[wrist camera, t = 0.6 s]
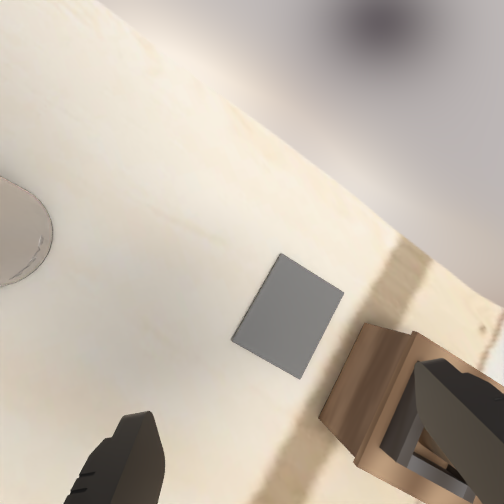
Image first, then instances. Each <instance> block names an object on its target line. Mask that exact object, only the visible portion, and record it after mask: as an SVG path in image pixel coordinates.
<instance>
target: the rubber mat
mask: <svg viewBox="0 0 504 504" xmlns="http://www.w3.org/2000/svg"><path fill="white" fill-rule="evenodd" d="M343 294H344V292H342V291H341V290H339V289H338V288H336V287H334V286H333V285H331V284H330V283H328V282H326V281H325V280H323V279H322V278H320V277H318V276H317V275H315V274H314V273H312V272H310V271H309V270H307V269H306V268H304V267H303V266H301V265H299V264H298V263H296V262H295V261H293V260H291V259H290V258H288V257H287V256H285V255H283V254H280V255H279V257H278V259H277V261H276V262H275V264H274V266H273V268H272V269H271V271H270V273H269V275H268V277H267V278H266V280H265V282H264V284H263V285H262V287H261V289H260V291H259V292H258V294H257V296H256V298H255V300H254V301H253V303H252V305H251V307H250V308H249V310H248V312H247V314H246V315H245V317H244V319H243V321H242V323H241V324H240V326H239V328H238V330H237V331H236V333H235V335H234V337H233V338H232V342H234V343H236V344H238V345H239V346H241V347H243V348H245V349H247V350H248V351H250V352H252V353H254V354H255V355H257V356H259V357H261V358H263V359H264V360H266V361H268V362H270V363H271V364H273V365H275V366H277V367H279V368H280V369H282V370H284V371H286V372H287V373H289V374H291V375H293V376H294V377H296V378H298V379H301V377H302V375H303V373H304V371H305V369H306V367H307V365H308V363H309V361H310V359H311V357H312V355H313V353H314V351H315V349H316V347H317V346H318V344H319V342H320V340H321V338H322V336H323V334H324V332H325V330H326V328H327V326H328V324H329V322H330V320H331V318H332V316H333V314H334V312H335V310H336V308H337V306H338V304H339V302H340V300H341V298H342V296H343Z"/></svg>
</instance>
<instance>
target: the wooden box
mask: <svg viewBox="0 0 504 504" xmlns="http://www.w3.org/2000/svg"><path fill="white" fill-rule="evenodd" d="M438 358H444V359H446V360H447V361H448V362H449V363H451V364H452V365H453V366H454V367H455V368H456V369H458V370H459V371H460V372H461V373H467V372H468V373H470V374H473V375H475V376H477V377H479V378H481V379H483V380H485V381H487V382H489V383H491V384H492V385H493V386H494V387H496V388H497V389H498V390H500V391H501V392H502V393H503V394H504V386H502V385H500V384H499V383H497V382H496V381H494V380H493V379H491V378H489V377H488V376H486V375H485V374H483V373H481V372H480V371H478V370H477V369H475V368H474V367H472V366H470V365H469V364H467V363H466V362H464V361H462V360H461V359H459V358H458V357H456V356H455V355H453V354H451V353H450V352H448V351H447V350H445V349H444V348H442V347H440V346H439V345H437V344H436V343H434V342H432V341H431V340H429V339H428V338H426V337H425V336H423V335H421V334H420V333H418V332H415V331H412V334H411V335H409V334H405V333H401V332H397V331H394V330H390V329H386V328H382V327H378V326H375V325H371V324H367V323H364V326H363V328H362V330H361V332H360V334H359V336H358V338H357V340H356V342H355V344H354V346H353V348H352V350H351V352H350V354H349V356H348V358H347V360H346V363H345V365H344V367H343V369H342V371H341V373H340V375H339V377H338V379H337V381H336V383H335V385H334V387H333V389H332V391H331V393H330V395H329V397H328V399H327V402H326V404H325V406H324V408H323V410H322V412H321V414H320V416H319V419H320V420H321V421H322V422H323V424H324V425H325V426H326V427H327V428H328V429H329V430H330V431H331V432H332V433H333V434H334V435H335V436H336V437H337V439H338V440H339V441H340V442H341V443H342V444H343V445H344V446H345V447H346V448H347V449H348V450H349V451H350V452H351V454H352V455H353V456H354V457H355V459H354V461H353V463H354V464H355V465H356V466H357V467H358V468H360V469H362V470H364V471H366V472H368V473H370V474H372V475H373V476H375V477H377V478H379V479H381V480H383V481H385V482H387V483H389V484H390V485H392V486H394V487H396V488H398V489H400V490H402V491H404V492H405V493H407V494H409V495H411V496H413V497H415V498H417V499H419V500H421V501H422V502H424V503H426V504H482V502H481V501H480V500H479V498H478V497H477V496H476V494H475V493H474V492H473V490H472V489H471V488H470V487H469V485H468V484H467V483H466V481H465V480H464V479H463V477H462V476H461V475H460V474H459V472H458V471H457V470H456V469H455V468H454V467H452V466H451V465H449V464H448V463H447V462H445V461H444V460H442V459H441V458H440V457H438V456H437V455H435V454H434V453H433V452H431V451H430V450H428V449H427V448H426V447H424V446H423V445H422V444H420V443H419V441H418V440H419V438H420V435H421V433H422V431H423V428H424V426H423V424H422V422H421V420H420V417H419V415H418V411H417V407H416V392H415V375H414V366H415V364H416V363H417V362H422V361H427V360H433V359H438Z"/></svg>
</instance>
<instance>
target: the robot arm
mask: <svg viewBox="0 0 504 504" xmlns="http://www.w3.org/2000/svg"><path fill="white" fill-rule="evenodd" d="M52 231H53V230H52V224H51V219H50V217H49V215H48V213H47V210H46V209H45V207H44V206H43V205H42V203H41V202H40V201H39V200H38V199H37V198H36V197H35V196H34V195H32V194H31V193H30V192H28V191H26V190H25V189H23V188H21V187H19V186H17V185H16V184H14V183H12V182H10V181H8V180H6V179H5V178H3V177H1V176H0V286H4V285H8V284H12V283H15V282H17V281H19V280H21V279H23V278H25V277H27V276H28V275H29V274H31V273H32V272H33V271H35V270H36V269H37V268H38V267H39V265H40V264H41V263H42V262H43V261H44V259H45V257H46V255H47V254H48V252H49V249H50V246H51V242H52ZM414 375H415V392H416V407H417V411H418V415H419V417H420V420H421V422H422V424H423V426H424V427H425V429H426V430H427V432H428V433H429V434H430V436H431V437H432V438H433V440H434V441H435V442H436V444H437V445H438V446H439V447H440V449H441V450H442V451H443V453H444V454H445V455H446V457H447V458H448V459H449V460H450V462H451V463H452V464H453V466H454V467H455V468H456V470H457V471H458V472H459V474H460V475H461V476H462V477H463V479H464V480H465V481H466V483H467V484H468V485H469V487H470V488H471V489H472V490H473V492H474V493H475V494H476V496H477V497H478V498H479V500H480V501H481V502H482V504H504V394H503V393H502V392H501V391H500V390H498V389H497V388H496V387H494V386H493V385H492V384H491V383H489V382H487V381H485V380H483V379H481V378H479V377H477V376H475V375H473V374H470V373H468V372H467V373H461V372H460V371H459V370H458V369H456V368H455V367H454V366H453V365H452V364H451V363H449V362H448V361H447V360H446V359H444V358H438V359H433V360H427V361H422V362H417V363H416V364H415V366H414ZM164 473H165V456H164V451H163V447H162V444H161V441H160V437H159V434H158V430H157V427H156V423H155V420H154V417H153V414H152V413H151V412H150V411H146V412H141V413H135V414H130V415H125V416H123V417H122V418H121V420H120V422H119V424H118V426H117V428H116V430H115V432H114V434H113V437H111V438H105V439H104V440H103V441H102V442H101V443H100V445H99V446H98V447H97V448H96V449H95V450H94V451H93V452H92V453H91V454H90V455H89V457H88V459H87V461H86V463H85V465H84V466H83V468H82V470H81V472H80V474H79V478H77V479H76V481H75V483H74V485H73V487H72V489H71V493H70V495H68V496H67V498H66V500H65V502H64V504H157V503H158V499H159V495H160V491H161V487H162V483H163V479H164Z"/></svg>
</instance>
